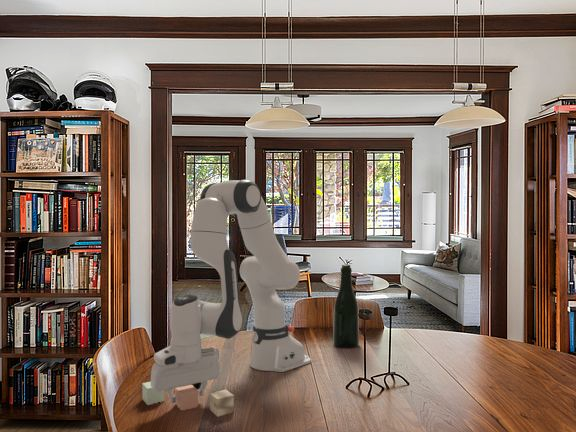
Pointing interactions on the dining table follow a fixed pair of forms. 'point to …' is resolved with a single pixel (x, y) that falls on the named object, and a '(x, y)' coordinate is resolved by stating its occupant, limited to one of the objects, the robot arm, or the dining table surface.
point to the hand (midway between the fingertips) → (186, 399)
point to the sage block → (151, 394)
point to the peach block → (186, 397)
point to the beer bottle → (346, 313)
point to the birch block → (221, 402)
